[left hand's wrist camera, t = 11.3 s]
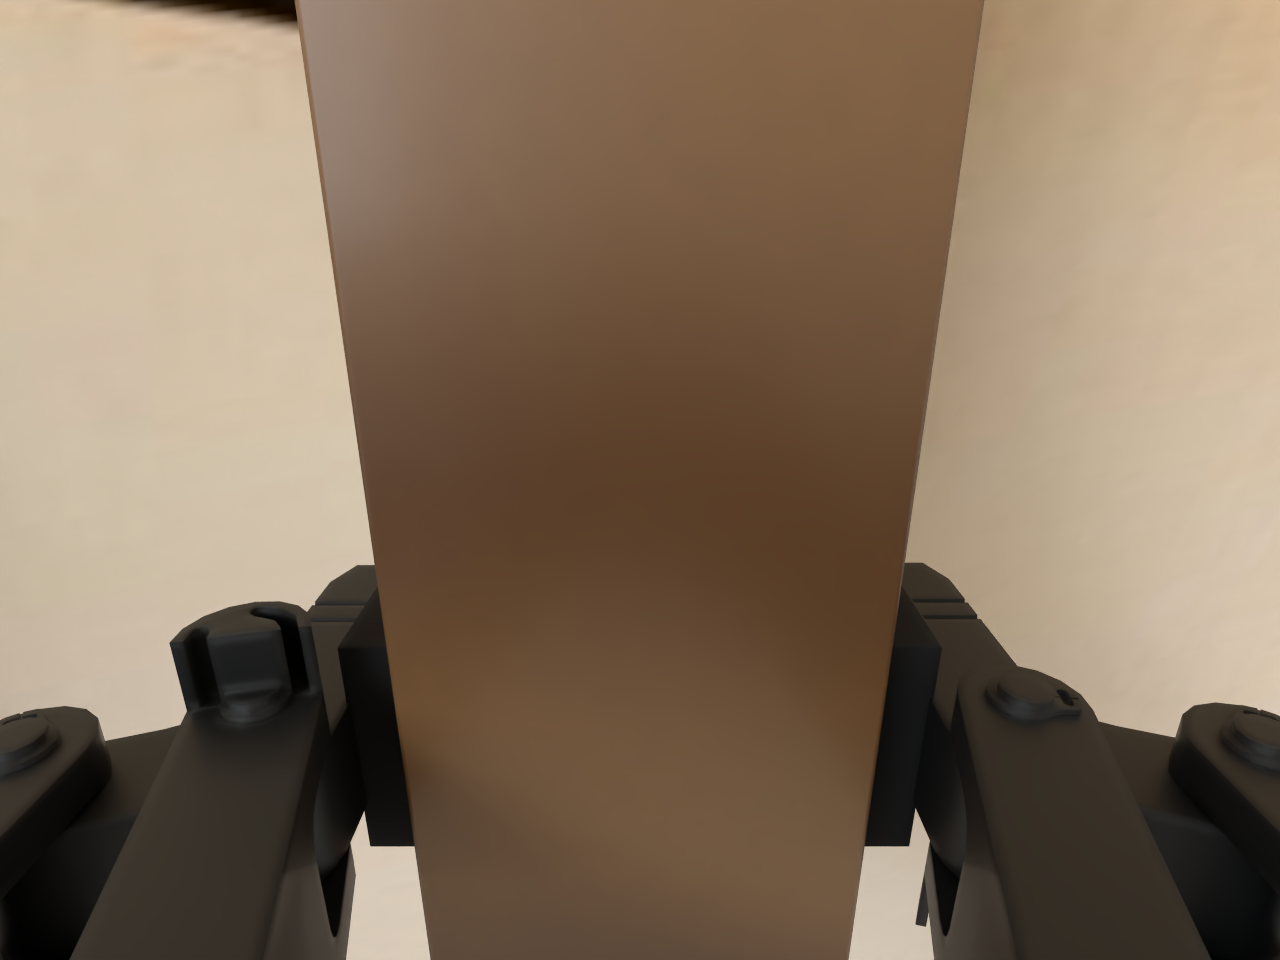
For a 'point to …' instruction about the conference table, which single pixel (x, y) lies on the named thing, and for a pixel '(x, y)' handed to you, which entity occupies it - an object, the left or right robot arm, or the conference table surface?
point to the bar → (639, 440)
